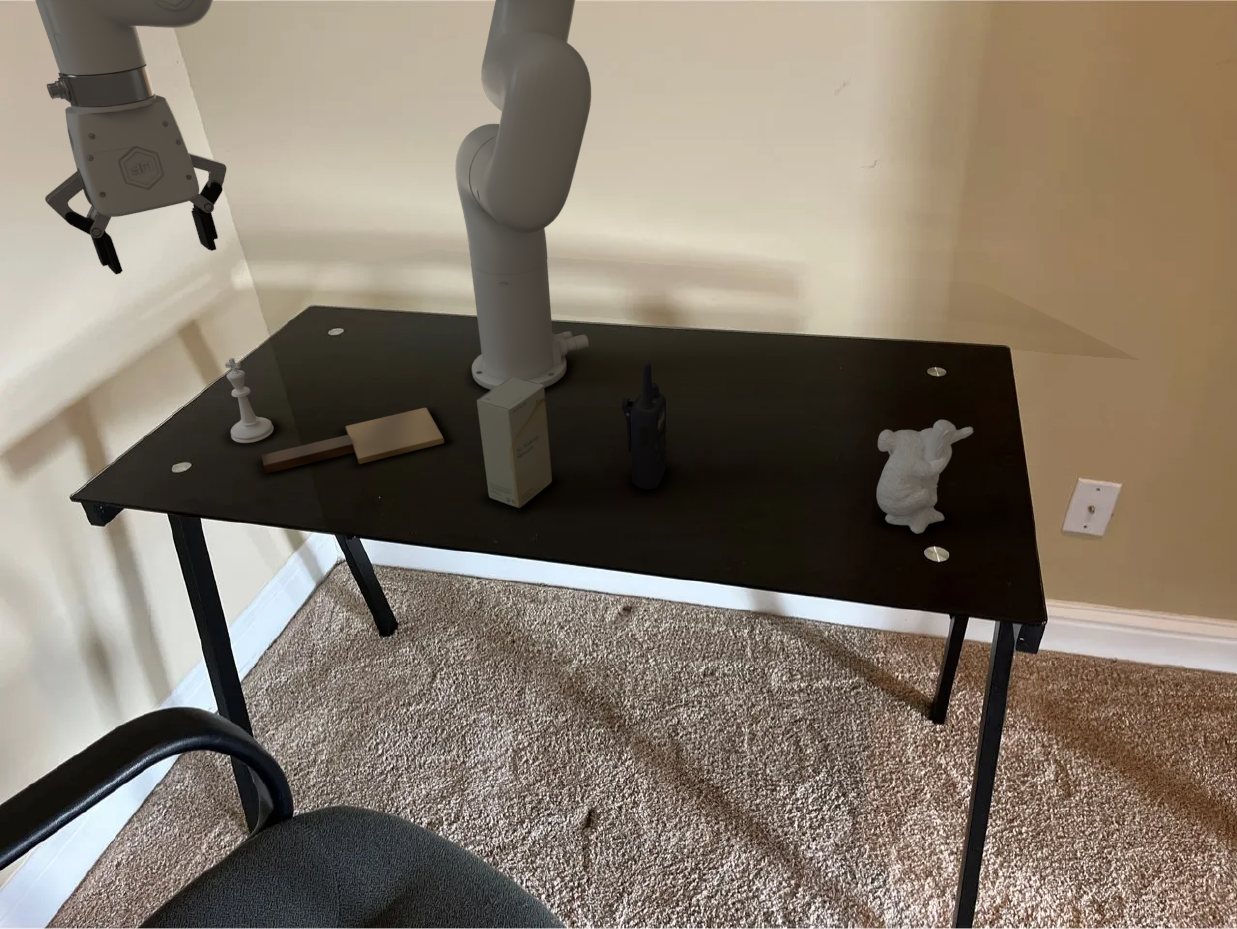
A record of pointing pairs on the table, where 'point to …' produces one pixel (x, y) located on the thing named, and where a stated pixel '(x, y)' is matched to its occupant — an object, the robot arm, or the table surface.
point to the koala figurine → (915, 473)
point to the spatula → (365, 441)
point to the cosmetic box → (515, 441)
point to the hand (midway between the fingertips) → (163, 258)
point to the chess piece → (246, 410)
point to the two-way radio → (647, 433)
